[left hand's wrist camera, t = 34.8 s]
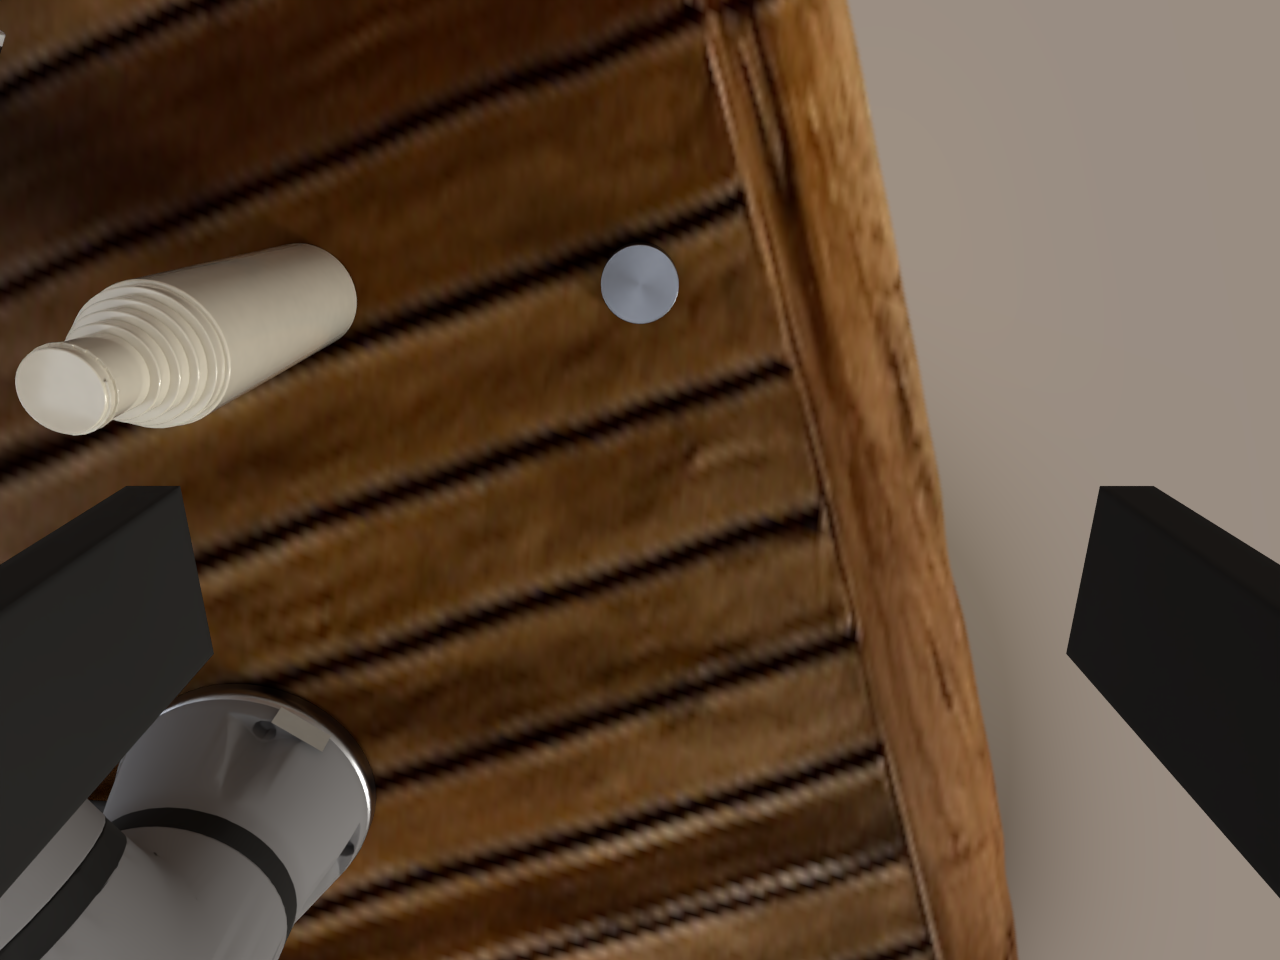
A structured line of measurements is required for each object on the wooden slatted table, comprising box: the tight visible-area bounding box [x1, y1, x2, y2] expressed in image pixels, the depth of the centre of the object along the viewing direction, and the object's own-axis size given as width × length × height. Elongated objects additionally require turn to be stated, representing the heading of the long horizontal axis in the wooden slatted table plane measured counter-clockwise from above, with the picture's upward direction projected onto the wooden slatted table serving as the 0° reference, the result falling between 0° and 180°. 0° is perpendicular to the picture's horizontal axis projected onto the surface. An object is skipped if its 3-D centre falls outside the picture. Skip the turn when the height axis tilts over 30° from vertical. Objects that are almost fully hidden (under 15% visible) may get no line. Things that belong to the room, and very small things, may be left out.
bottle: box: [15, 243, 357, 435], centre depth 34 cm, size 5×5×20 cm
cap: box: [601, 242, 679, 324], centre depth 42 cm, size 4×4×2 cm
